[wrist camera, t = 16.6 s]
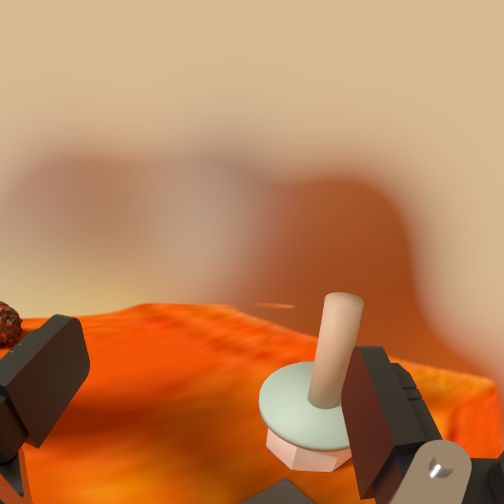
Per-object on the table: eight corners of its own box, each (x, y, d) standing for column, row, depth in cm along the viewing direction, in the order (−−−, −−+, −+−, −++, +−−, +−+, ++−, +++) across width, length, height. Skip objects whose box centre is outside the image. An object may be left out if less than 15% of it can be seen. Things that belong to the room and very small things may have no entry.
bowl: (249, 430, 35) (251, 396, 33) (313, 396, 41) (320, 363, 39) (310, 487, 26) (322, 457, 25) (373, 438, 33) (387, 406, 31)
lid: (233, 394, 33) (236, 289, 29) (320, 355, 41) (335, 264, 37) (321, 475, 22) (358, 366, 19) (404, 406, 30) (440, 307, 27)
